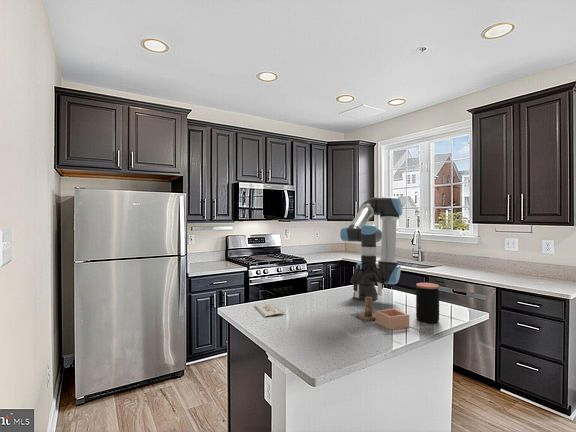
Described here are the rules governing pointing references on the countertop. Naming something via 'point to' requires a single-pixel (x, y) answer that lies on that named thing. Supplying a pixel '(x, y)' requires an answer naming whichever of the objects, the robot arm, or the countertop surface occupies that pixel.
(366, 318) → the lid
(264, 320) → the countertop surface
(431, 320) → the coffee jar
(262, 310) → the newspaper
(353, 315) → the mat
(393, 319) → the pink open box
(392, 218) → the robot arm
